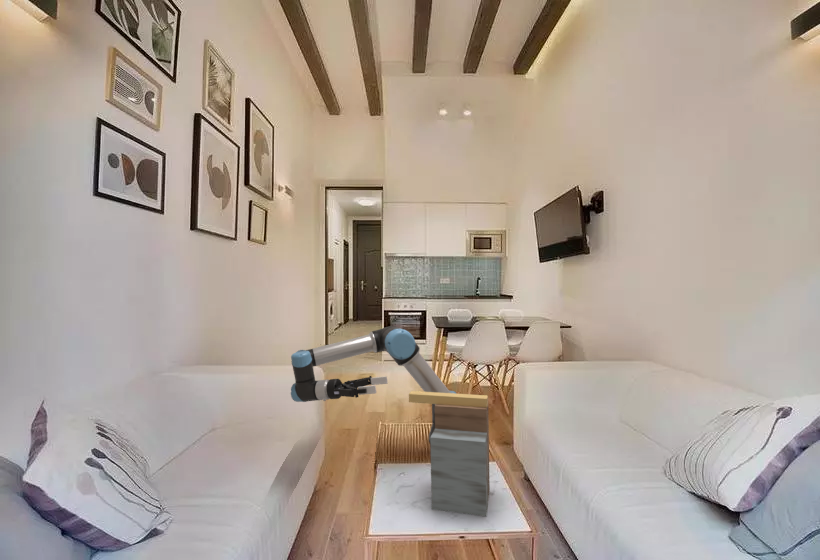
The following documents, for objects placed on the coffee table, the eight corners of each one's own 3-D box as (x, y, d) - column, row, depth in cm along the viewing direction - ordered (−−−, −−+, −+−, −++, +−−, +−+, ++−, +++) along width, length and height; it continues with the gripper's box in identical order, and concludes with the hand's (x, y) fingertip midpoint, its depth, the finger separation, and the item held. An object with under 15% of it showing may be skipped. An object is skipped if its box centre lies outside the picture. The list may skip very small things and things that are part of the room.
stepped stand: (440, 484, 149) (438, 399, 149) (489, 490, 145) (488, 402, 144) (431, 509, 134) (429, 413, 134) (486, 516, 129) (484, 417, 129)
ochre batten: (411, 398, 150) (411, 390, 150) (488, 403, 142) (487, 395, 142) (408, 402, 146) (408, 393, 146) (487, 407, 139) (486, 398, 138)
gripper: (344, 390, 168) (392, 385, 162) (316, 409, 143) (371, 404, 138) (341, 372, 168) (389, 367, 163) (313, 388, 144) (368, 382, 139)
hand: (381, 384), depth 150 cm, fingers open, 13 cm apart
